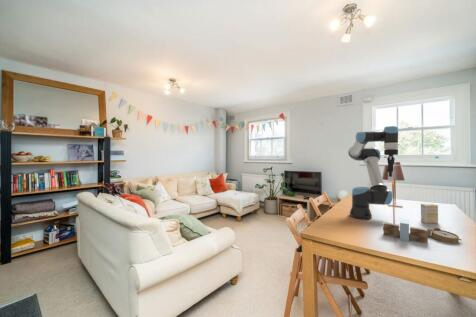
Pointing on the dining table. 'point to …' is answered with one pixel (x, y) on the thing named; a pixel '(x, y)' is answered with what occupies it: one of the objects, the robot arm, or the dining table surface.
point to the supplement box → (429, 213)
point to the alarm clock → (443, 235)
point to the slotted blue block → (404, 229)
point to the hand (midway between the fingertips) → (391, 180)
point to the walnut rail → (414, 234)
